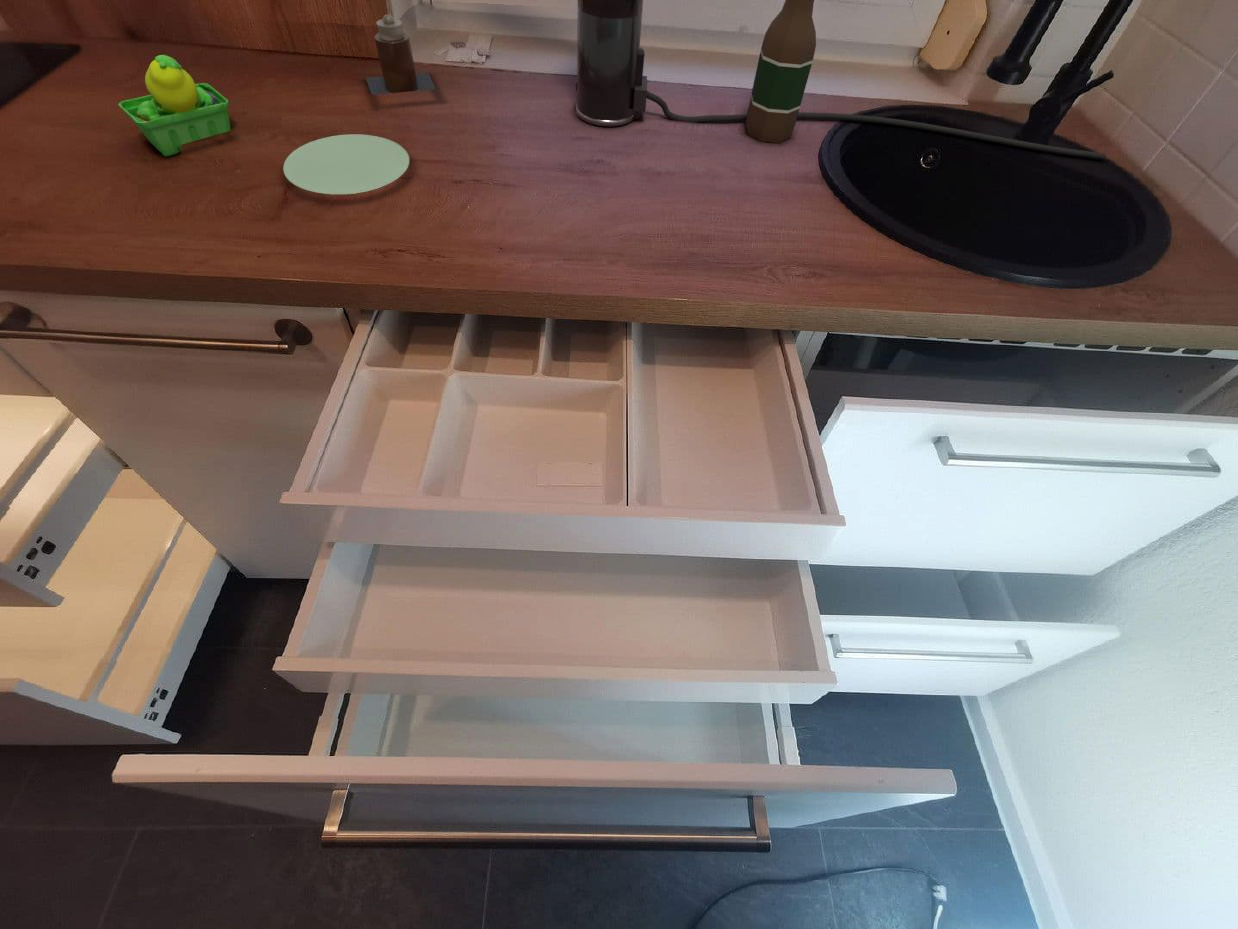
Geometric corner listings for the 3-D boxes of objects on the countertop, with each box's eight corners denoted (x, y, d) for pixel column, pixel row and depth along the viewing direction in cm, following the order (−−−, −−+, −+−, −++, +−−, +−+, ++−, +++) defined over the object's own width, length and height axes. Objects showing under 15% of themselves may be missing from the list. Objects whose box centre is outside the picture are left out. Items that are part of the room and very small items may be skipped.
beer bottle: (797, 128, 99) (851, -63, 80) (784, 148, 95) (838, -49, 76) (751, 116, 101) (793, -74, 82) (736, 135, 97) (777, -61, 78)
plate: (400, 136, 90) (398, 128, 89) (421, 193, 81) (419, 184, 80) (282, 150, 85) (278, 141, 84) (291, 210, 77) (287, 201, 76)
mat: (428, 76, 103) (428, 72, 102) (441, 101, 97) (440, 97, 97) (366, 81, 100) (365, 77, 100) (375, 108, 95) (374, 104, 94)
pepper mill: (414, 79, 100) (401, 7, 93) (420, 92, 98) (407, 19, 90) (383, 81, 99) (367, 9, 91) (388, 95, 96) (372, 21, 88)
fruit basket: (221, 119, 90) (182, 28, 81) (249, 142, 86) (212, 50, 77) (137, 141, 84) (86, 47, 75) (163, 168, 81) (113, 72, 72)
